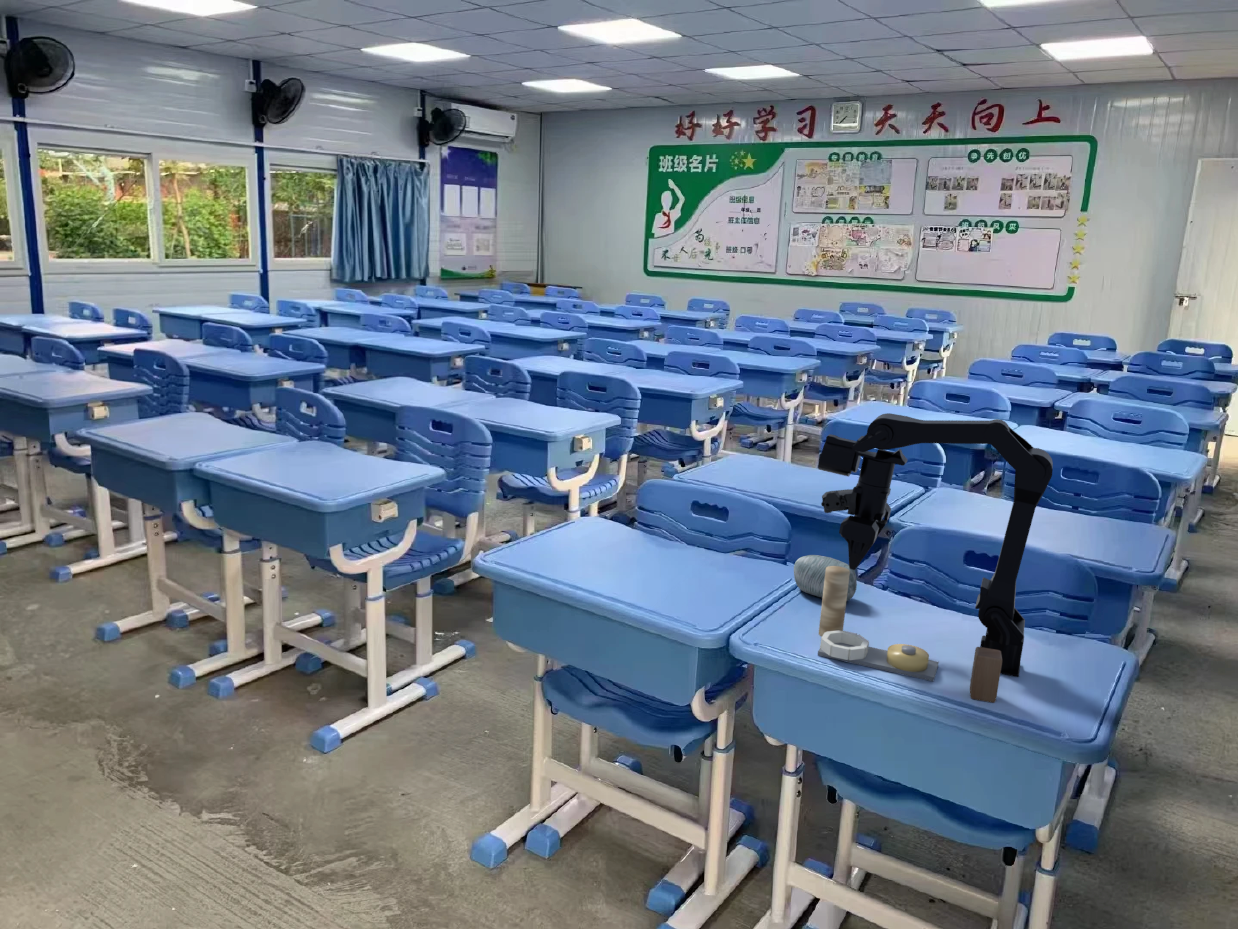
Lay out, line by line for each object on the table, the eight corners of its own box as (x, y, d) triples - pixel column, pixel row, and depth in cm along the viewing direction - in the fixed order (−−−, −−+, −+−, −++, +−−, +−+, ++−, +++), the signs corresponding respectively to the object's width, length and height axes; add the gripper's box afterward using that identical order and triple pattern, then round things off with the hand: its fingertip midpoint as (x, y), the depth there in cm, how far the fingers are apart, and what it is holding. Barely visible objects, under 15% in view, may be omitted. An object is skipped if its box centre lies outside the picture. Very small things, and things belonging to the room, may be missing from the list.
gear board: (938, 666, 168) (940, 647, 167) (932, 684, 161) (935, 664, 160) (826, 641, 176) (828, 623, 175) (816, 657, 169) (818, 638, 168)
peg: (844, 633, 180) (852, 568, 177) (839, 641, 176) (847, 575, 173) (821, 628, 182) (828, 564, 179) (816, 636, 178) (823, 571, 175)
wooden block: (969, 689, 160) (975, 645, 158) (994, 693, 159) (1001, 649, 157) (969, 699, 156) (976, 654, 154) (995, 704, 155) (1002, 659, 153)
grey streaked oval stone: (871, 584, 198) (854, 546, 194) (850, 614, 193) (833, 576, 189) (817, 580, 208) (800, 544, 205) (796, 608, 203) (778, 572, 199)
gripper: (840, 462, 183) (825, 537, 188) (819, 482, 167) (802, 564, 171) (898, 476, 179) (881, 552, 183) (883, 498, 163) (864, 581, 167)
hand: (856, 562), depth 176 cm, fingers open, 9 cm apart
